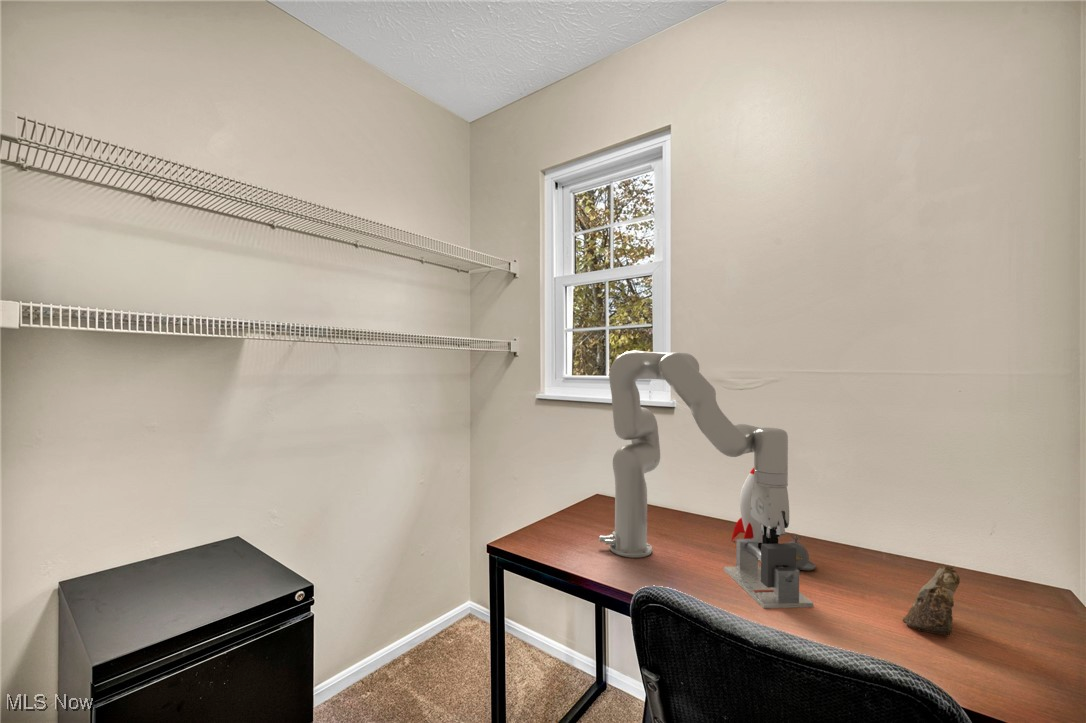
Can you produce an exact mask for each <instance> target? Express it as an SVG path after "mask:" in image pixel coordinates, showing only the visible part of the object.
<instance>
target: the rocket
mask: <svg viewBox="0 0 1086 723" xmlns="http://www.w3.org/2000/svg"><path fill="white" fill-rule="evenodd" d="M753 483H754V467H752V469H751V470H750V472H749V474H748V475H747V477H746V478H745V480H744V482H743V485H742V487H741V489H740V493H739V494H740V495H739V510H740V511H739V512H740V516H741V517H740V518H739V519H738V520H737V521H736V523H735V525H734V529H733V532H732V535H731V536H732V537H731V541H733V540H734V539H735V538H737V536H738V535H739V534H740V533H744V537H743V539H755V540H757V541H758V549H761V544H762V535H763V534H762V533H761V525H760V523H759V522H758V521H756V520H755V519H754V518H753V517H752V516H751V496H752V488H753Z"/></svg>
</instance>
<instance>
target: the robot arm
mask: <svg viewBox="0 0 1086 723" xmlns="http://www.w3.org/2000/svg"><path fill="white" fill-rule="evenodd" d="M608 374H609V375H608V377H609V378H608V379H609V380H608V381H609V386H610V394H611V406H612V417H613V418H612V419H613V420H612V421H613V429H614V432H615V435H616V436H617V437H618V438H619V439H621V440H623V441H631V443H630V444H626V445H623V446H621V447H620V448H618V449H617V450H616V451H615V453H614V455H613V458H612V469H613V470H612V471H613V475H614V485H615V486H614V488H615V489H614V494H615V495H614V531H612V533H611V534H609V535H599V536H598V542H599V543H604V544H605V545H607V546H608V545H609V550H610V551H611V552H612V553H613V554H616V555H617V556H621V557H626V558H633V559H634V558H644V557H648V556H650V555H651V554H652V553H653V547H652V545H651V544H650V543H648V541H647V540H648V537H647V536H648V488H647V486H648V485H647V483H646V479H645V474H647V473H650V472H652V471H654V470H655V469H657V467H658V466H659V464H660V462H661V447H660V438H659V437H660V436H659V426H658V421H657V419H656V416H655V414H654V413H653V411H651V410H650V409H648V408H646V407H641V406H642V405H641V397H640V396H641V395H640V391H639V388H638V386H637V384H636V381H637V380H662V381H665V382H666V383H667V384H668V385H669V386H670V387H671V388H672V389H673V390H674V392H675V393H676V394H677V395H678V396H679V397H680V398H681V400H682V401H683V402H684V403H685V405H686V406H688V408H689V409H690V412H691V414H692V417H693V419H694V420H695V423H696V425H697V427H698V428H699V430H700V431H701V433H702V434H703V435H704V436H705V437H706V438H707V440H708V441H709V442H710V443H711V444H712V445H713V447H714V448H715V449H716V450H717V451H719V452H720V453H721V454H722V455H724V456H727V457H730V458H736V457H740V456H743V455H745V454H748V453H753V454H754V455H753V456H754V457H753V462H754V463H753V464H754V465H753V468H754V483H753V488H752V496H751V516H752V517H753V518H754V519H755V520H756V521H758V522H759V523H760V525H761V533H762V534H763V535H762V544H779V538H780V536H785V535H786V529H787V528H789V526H790V503H789V501H790V500H789V492H788V484H789V483H788V482H789V481H788V480H789V477H788V476H789V475H788V474H789V473H788V472H789V471H788V470H789V469H788V468H789V465H788V464H789V457H788V456H789V454H788V453H789V451H788V450H789V436H788V432H787V431H786V430H784V429H782V428H776V427H761V426H760V427H759V426H754V425H749V424H743V423H741V424H740V423H739V424H734V423H733V422H732V421H730V419H729V418H728V417H727V416H726V415H725V413H723V411H722V409H721V408H720V407H719V404H718V402H717V396H716V395H717V393H716V389H715V387H714V386H713V385H712V383H710V382H709V381H708V380H707V379H706V378H705V376H703V375H702V373H701V372H700V364H699V362H698V359H697V358H695V356H694V355H692V354H690V353H686V352H657V351H656V352H655V351H644V350H631V351H626V352H624V353H622V354H620V355H619V356H617V357H616V359H614V361H613V362H612V364H611V366H610V368H609V373H608Z"/></svg>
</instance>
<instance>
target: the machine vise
mask: <svg viewBox="0 0 1086 723" xmlns="http://www.w3.org/2000/svg"><path fill="white" fill-rule="evenodd" d="M735 559H736V560H735V561H736V562H735V563H736V565H735V566H724V567H723V571H724V572H725V573H726V574H727V575H728V576H729V577H730V578H731V579H732V580H734V582H736V584H738V586H740V587H741V588H742V589H743V590H744V591H745V592H746V593H747V594H748V595H749V596H750V597H751V598H752V599H753V600H754V601H755V602H756V603H757V604H758V605H759V606H761V607H762V608H763V609H788V608H789V609H790V608H791V609H793V608H794V609H795V608H814V602H813V601H812V600H811V599H809V598H808V597H806V595H804V594H803V593H801V591H800V569H797V568H795V567H783V566H782V565H776V567H774V587H773V588H768V587H766V586H765V585H764V584H763V583H762V582H761V565H759V562H760V563H761V548H758V541H757V540H755V539H744V538H737V539H736V558H735Z"/></svg>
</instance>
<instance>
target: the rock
mask: <svg viewBox="0 0 1086 723" xmlns="http://www.w3.org/2000/svg"><path fill="white" fill-rule="evenodd" d="M960 583H961V578H960V575H958V573H957V570H956V569H955V568H954V567H952V566H949V565H943V566H941V567H939V568H938V569H937V570H936V572H935V574H934V576H933V577H932V578H930V580H929V581H928V582H927V583H926V584H923V586H922V587H921V588H920V590H919V591H918V593H917V596H916V599H915V601H914V603H913V605H912V606H911V607H910V609H908V612H907V614H906V615H905V616H904V618H902V622H903V623H905V624H907V626H909V627H911V628H913V629H917V630H918V631H921V632H926V633H932V634H940V635H944V636H946V637H947V636H948V637H949V636H951V634H952V633H953V628H954V626H953V625H954V623H953V620H954V619H953V611H952V610H953V607H955V606H954V603H955V602H954V595H955V593H956V591H957V589H958V588H959V587H958V586H959V585H960Z"/></svg>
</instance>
